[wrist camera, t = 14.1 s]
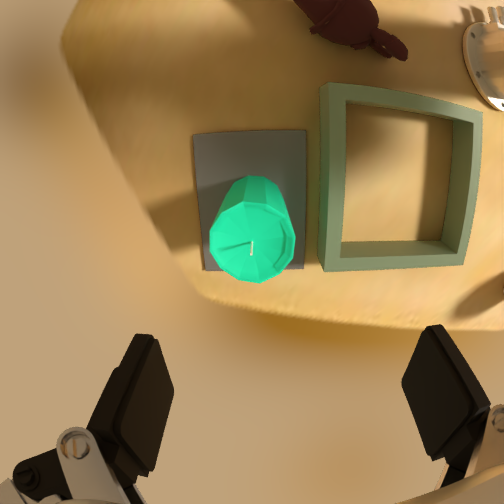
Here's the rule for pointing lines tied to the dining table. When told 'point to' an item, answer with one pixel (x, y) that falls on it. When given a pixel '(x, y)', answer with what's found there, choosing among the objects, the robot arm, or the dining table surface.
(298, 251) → the rubber mat
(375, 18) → the icecream
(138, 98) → the dining table surface
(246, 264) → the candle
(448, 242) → the box
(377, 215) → the dining table surface
